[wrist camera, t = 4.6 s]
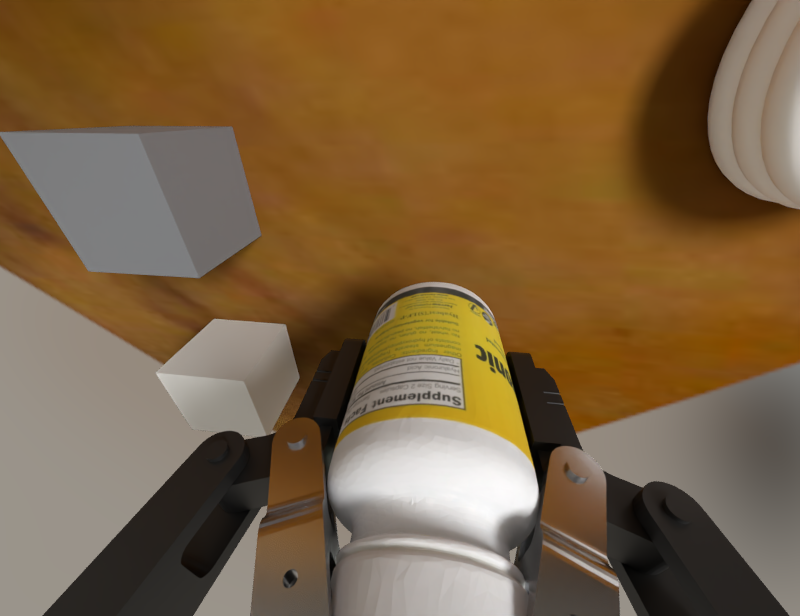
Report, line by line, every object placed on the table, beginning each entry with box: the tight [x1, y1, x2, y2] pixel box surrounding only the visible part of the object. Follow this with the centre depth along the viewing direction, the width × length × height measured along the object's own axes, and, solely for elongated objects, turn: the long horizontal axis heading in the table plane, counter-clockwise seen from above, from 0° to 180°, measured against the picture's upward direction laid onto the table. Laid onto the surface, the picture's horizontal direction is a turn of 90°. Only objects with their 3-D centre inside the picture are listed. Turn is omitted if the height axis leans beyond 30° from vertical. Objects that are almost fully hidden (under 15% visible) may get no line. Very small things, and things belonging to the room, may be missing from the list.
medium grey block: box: [0, 126, 261, 278], centre depth 13 cm, size 5×5×5 cm
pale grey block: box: [155, 319, 300, 437], centre depth 19 cm, size 5×5×5 cm
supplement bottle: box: [327, 282, 540, 616], centre depth 9 cm, size 5×5×10 cm
